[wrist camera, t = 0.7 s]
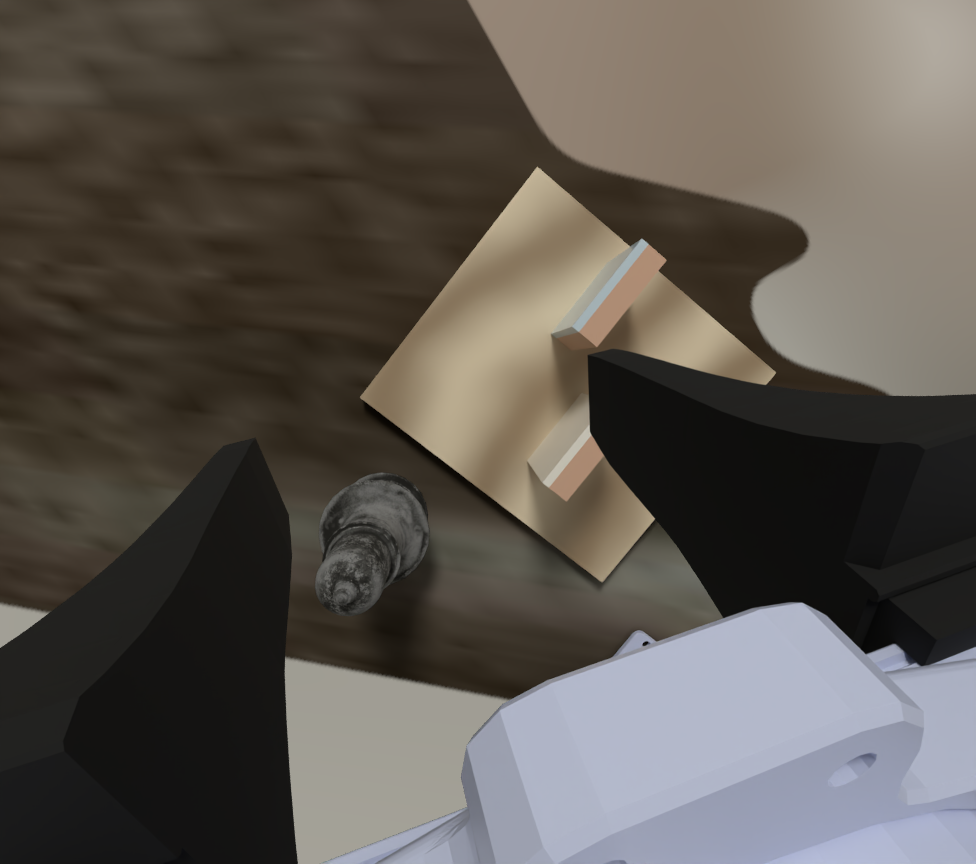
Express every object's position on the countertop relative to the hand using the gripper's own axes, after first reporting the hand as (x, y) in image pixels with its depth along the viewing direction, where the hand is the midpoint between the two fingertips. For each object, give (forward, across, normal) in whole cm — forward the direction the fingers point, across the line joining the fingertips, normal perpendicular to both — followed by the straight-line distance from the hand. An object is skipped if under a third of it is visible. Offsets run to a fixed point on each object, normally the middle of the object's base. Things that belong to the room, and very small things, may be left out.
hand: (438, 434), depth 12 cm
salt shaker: (+16, +3, +15) cm, 22 cm away
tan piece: (+17, -11, +5) cm, 21 cm away
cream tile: (+15, -8, +12) cm, 21 cm away
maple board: (+17, -10, +10) cm, 22 cm away
